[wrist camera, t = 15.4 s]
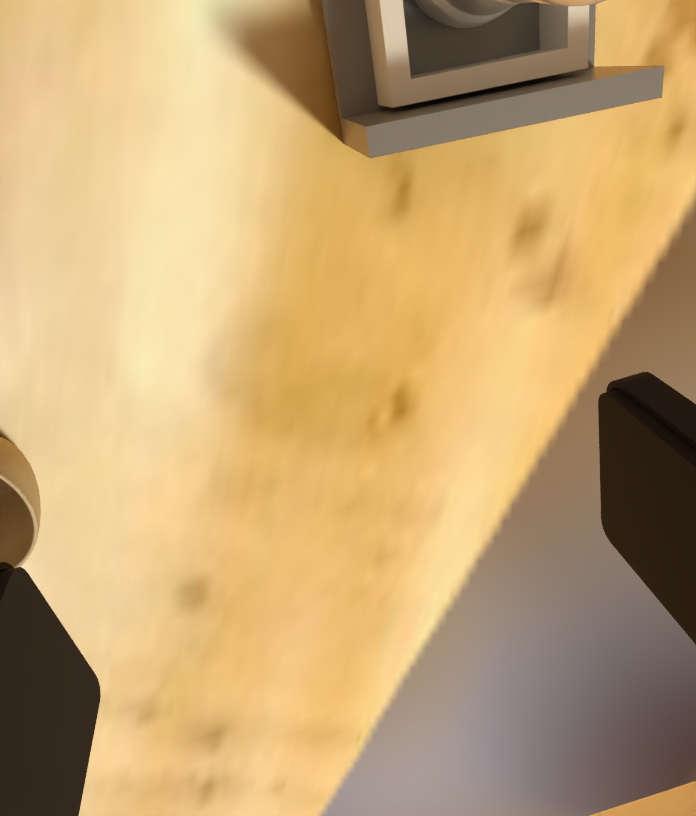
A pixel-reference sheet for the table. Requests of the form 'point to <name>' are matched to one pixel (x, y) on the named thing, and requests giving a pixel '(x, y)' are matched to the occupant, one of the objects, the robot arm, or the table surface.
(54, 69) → the table surface
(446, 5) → the plastic bottle
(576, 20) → the housing
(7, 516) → the flower pot
